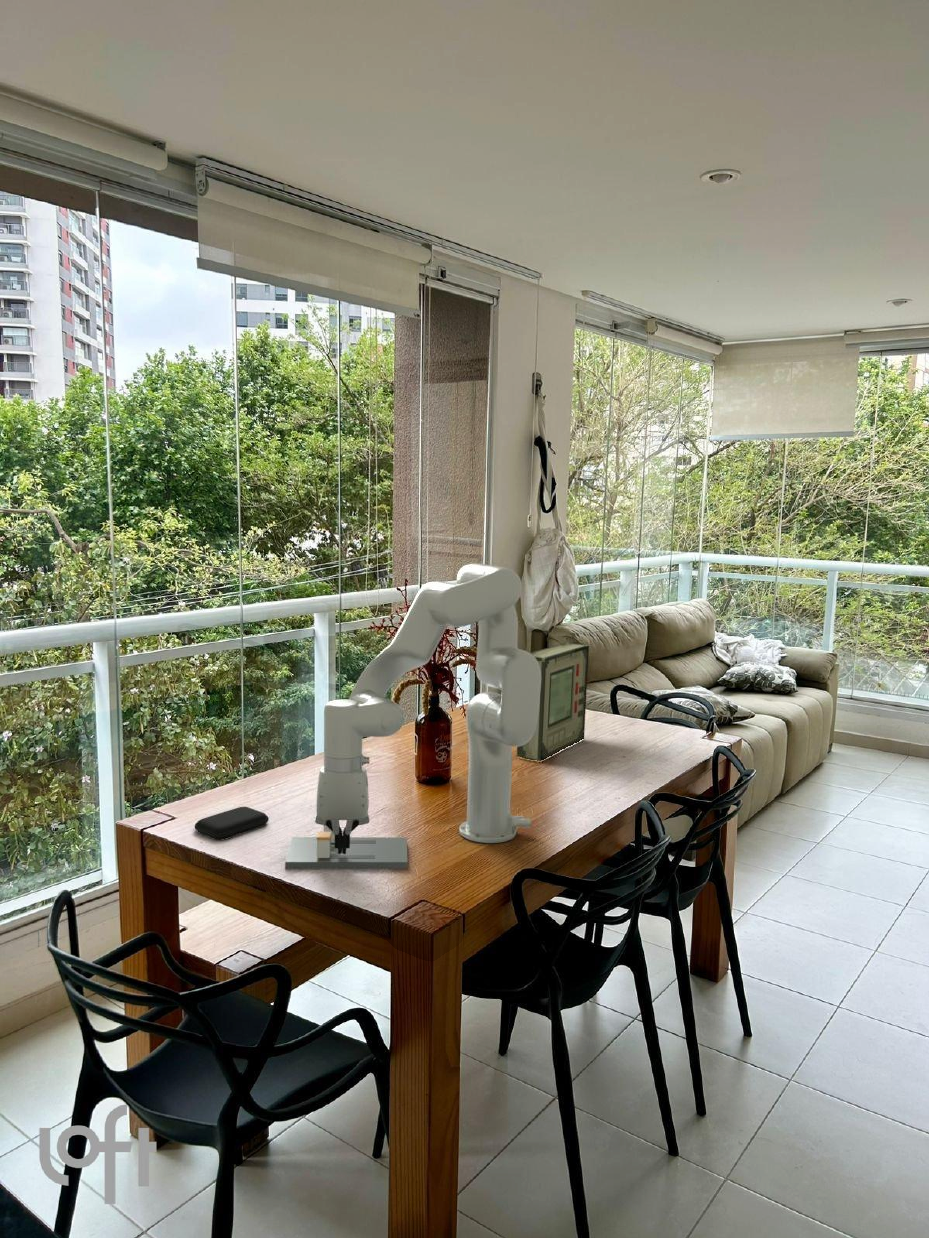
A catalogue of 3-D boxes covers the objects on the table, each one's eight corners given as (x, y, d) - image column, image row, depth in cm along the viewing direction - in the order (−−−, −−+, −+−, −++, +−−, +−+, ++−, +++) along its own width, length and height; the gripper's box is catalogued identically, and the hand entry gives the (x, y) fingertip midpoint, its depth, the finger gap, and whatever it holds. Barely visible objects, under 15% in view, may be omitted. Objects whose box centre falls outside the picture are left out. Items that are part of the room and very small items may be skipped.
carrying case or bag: (241, 814, 208) (187, 831, 196) (241, 801, 208) (187, 818, 196) (272, 825, 202) (218, 844, 190) (272, 812, 201) (218, 830, 190)
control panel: (540, 763, 255) (544, 658, 251) (516, 758, 259) (520, 655, 255) (583, 740, 280) (588, 645, 276) (562, 736, 284) (566, 642, 280)
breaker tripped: (330, 851, 182) (331, 831, 182) (329, 858, 179) (330, 837, 179) (317, 851, 182) (318, 831, 181) (316, 857, 179) (316, 837, 178)
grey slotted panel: (406, 844, 193) (406, 837, 192) (407, 869, 180) (407, 861, 179) (292, 843, 191) (292, 836, 190) (285, 869, 178) (285, 861, 178)
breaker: (336, 837, 190) (337, 817, 190) (335, 842, 187) (336, 822, 187) (324, 836, 190) (324, 817, 189) (323, 842, 187) (323, 822, 186)
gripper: (381, 757, 182) (379, 844, 185) (306, 757, 181) (306, 844, 184) (380, 768, 175) (379, 858, 178) (302, 768, 174) (302, 859, 176)
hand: (342, 851), depth 181 cm, fingers closed
